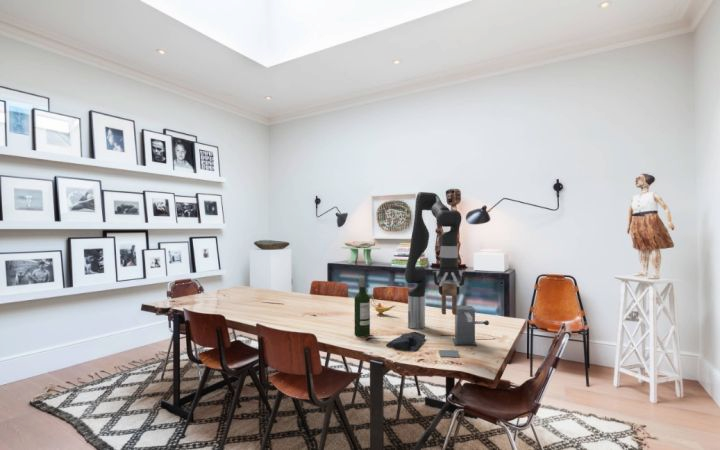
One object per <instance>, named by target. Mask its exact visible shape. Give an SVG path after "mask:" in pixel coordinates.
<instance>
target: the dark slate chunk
mask: <svg viewBox="0 0 720 450" xmlns="http://www.w3.org/2000/svg"><path fill="white" fill-rule="evenodd" d="M425 338H426V335H425V334H424V333H420V332H417V331H410V332H406V333H402V334H401V335H400V336H398V337H396V338H394V339H392V340H391V341H389V342H387V343H386V347H387V348H389V349H395V350H398V351H404V352H417V351H418V349H419V348H420V347H421V346H422V343H423V342H424V340H425Z"/></svg>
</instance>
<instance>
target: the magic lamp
mask: <svg viewBox="0 0 720 450" xmlns="http://www.w3.org/2000/svg"><path fill="white" fill-rule="evenodd" d="M374 298H375V297H374V296H372V295H371V299H372V300H370V305H372V306H373V307H374V311H376V312H377V314H376V315H377V316H380V317H382V316H385V315H386V314H385V312H388V311H390V310H392V309H393V308H394V307H396V305H392V306H388V307H387V306H382V304H381V303H380V302H378V304H375V302H374ZM372 302H373V304H372Z"/></svg>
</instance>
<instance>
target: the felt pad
mask: <svg viewBox="0 0 720 450" xmlns="http://www.w3.org/2000/svg"><path fill="white" fill-rule="evenodd" d="M438 352H439V355H440V358H452V359H453V358H454V359H456V358H457V359H461V356H460V353H459V351H458V350H455V349H451V350H450V349H439V350H438Z"/></svg>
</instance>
